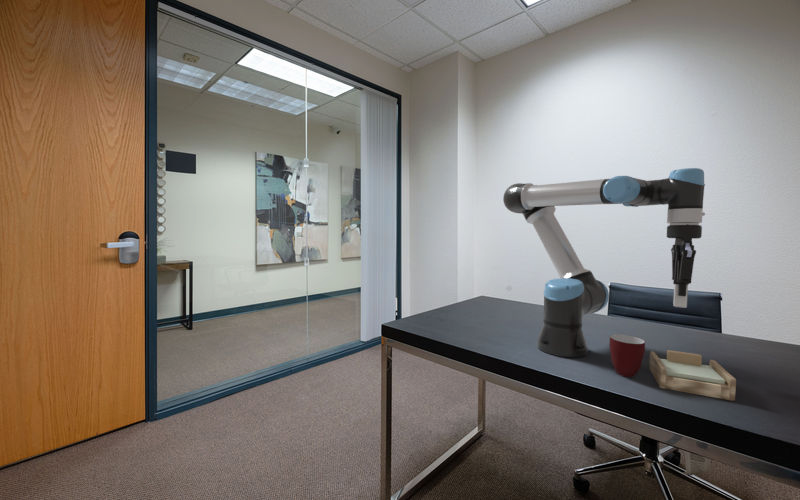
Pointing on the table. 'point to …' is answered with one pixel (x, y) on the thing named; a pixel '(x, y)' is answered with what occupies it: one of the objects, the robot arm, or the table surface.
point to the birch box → (694, 381)
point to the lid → (690, 367)
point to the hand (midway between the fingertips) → (679, 306)
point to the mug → (626, 354)
